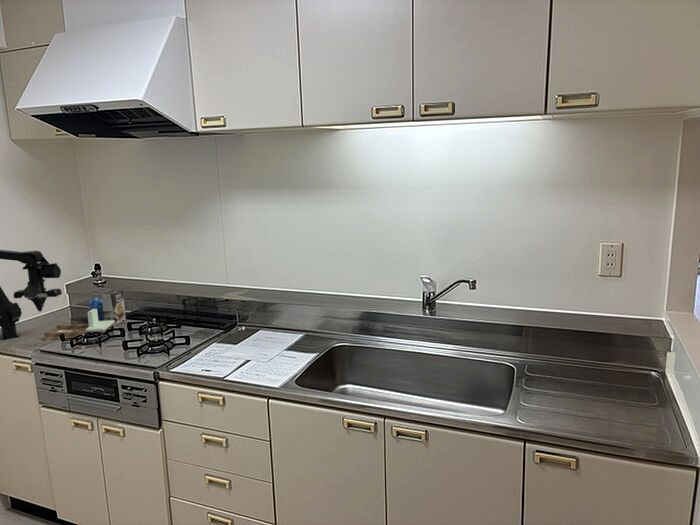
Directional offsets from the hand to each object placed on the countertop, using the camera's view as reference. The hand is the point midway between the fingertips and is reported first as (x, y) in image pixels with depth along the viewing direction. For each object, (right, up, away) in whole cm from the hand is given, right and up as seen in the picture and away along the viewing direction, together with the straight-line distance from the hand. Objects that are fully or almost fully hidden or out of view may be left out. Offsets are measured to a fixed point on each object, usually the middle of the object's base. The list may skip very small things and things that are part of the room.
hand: (40, 311), depth 237 cm
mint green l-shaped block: (+26, -8, +5) cm, 27 cm away
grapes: (+14, -8, +27) cm, 32 cm away
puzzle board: (+16, -11, +5) cm, 20 cm away
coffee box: (+25, -8, +22) cm, 34 cm away
